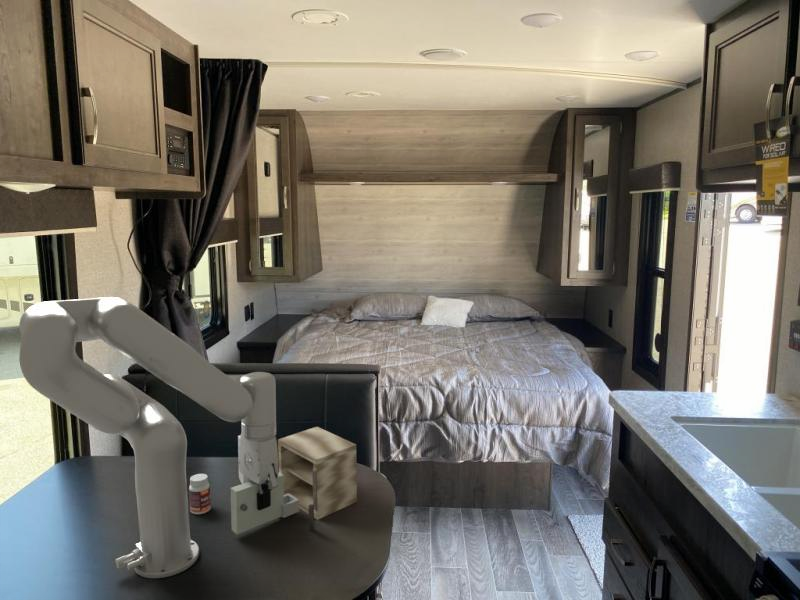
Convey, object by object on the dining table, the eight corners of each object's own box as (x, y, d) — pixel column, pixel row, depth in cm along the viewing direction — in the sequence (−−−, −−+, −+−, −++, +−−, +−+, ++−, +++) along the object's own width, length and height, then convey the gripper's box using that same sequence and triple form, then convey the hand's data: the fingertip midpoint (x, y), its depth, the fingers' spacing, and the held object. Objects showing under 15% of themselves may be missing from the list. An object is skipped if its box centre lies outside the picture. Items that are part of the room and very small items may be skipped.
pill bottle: (204, 515, 135) (202, 482, 134) (186, 513, 136) (184, 481, 135) (214, 505, 140) (213, 473, 139) (197, 503, 141) (195, 471, 140)
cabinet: (311, 532, 129) (309, 469, 126) (265, 501, 142) (263, 444, 140) (365, 506, 140) (364, 448, 137) (318, 479, 153) (317, 426, 151)
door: (239, 536, 124) (238, 493, 123) (229, 528, 127) (228, 486, 126) (299, 511, 135) (299, 471, 134) (288, 504, 138) (288, 465, 137)
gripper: (225, 422, 130) (227, 497, 133) (263, 443, 119) (264, 525, 122) (255, 414, 135) (256, 487, 138) (293, 434, 124) (294, 513, 127)
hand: (260, 504), depth 130 cm, fingers closed on door, 2 cm apart
